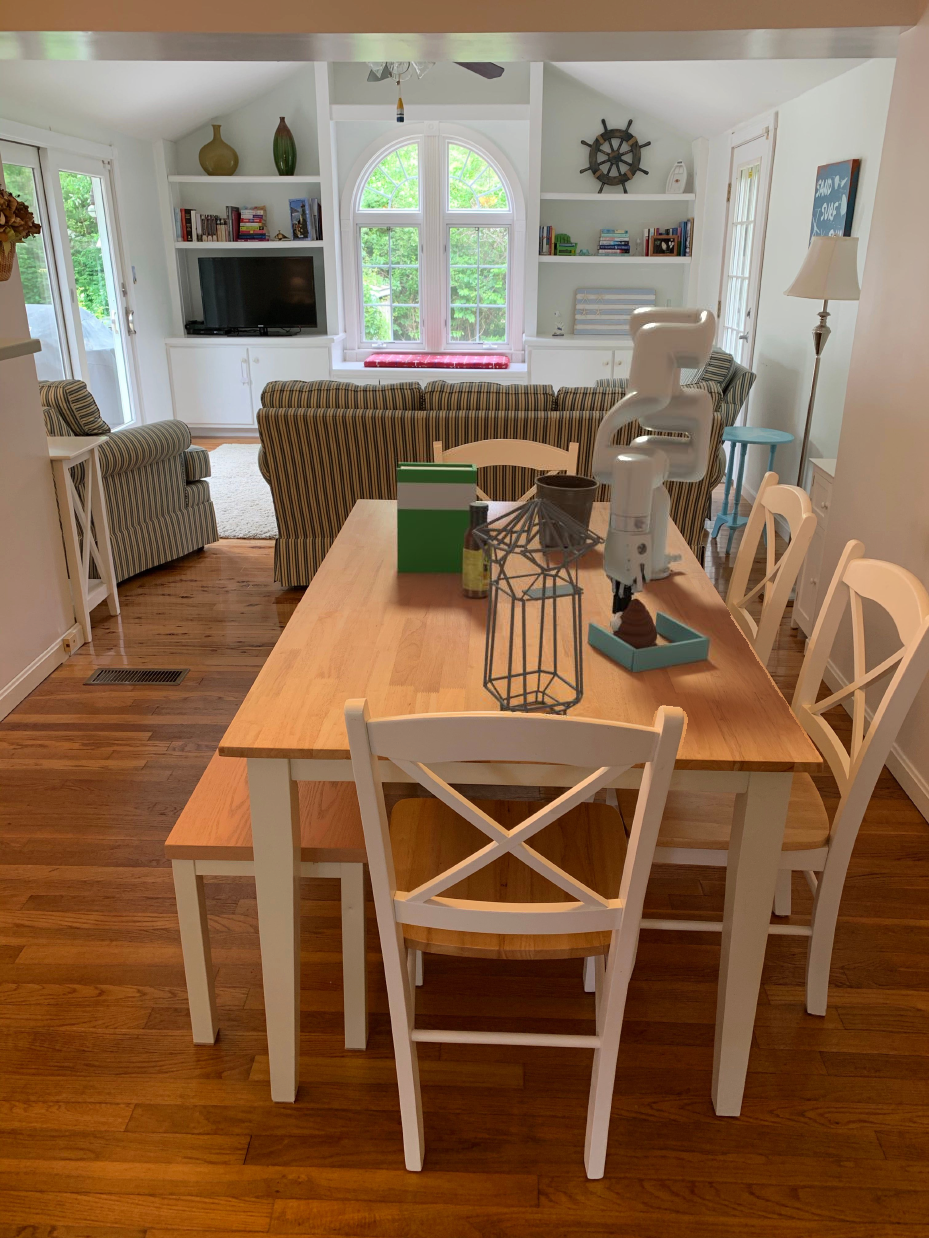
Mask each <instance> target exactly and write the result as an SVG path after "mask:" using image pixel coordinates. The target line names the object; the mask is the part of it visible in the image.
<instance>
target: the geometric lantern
mask: <svg viewBox="0 0 929 1238" xmlns="http://www.w3.org/2000/svg"><path fill="white" fill-rule="evenodd" d="M545 512H546V513H547V514H548V515H549V516H550V517H551V518H552V519H553V520H554V521H550V519H549V518H548V516H547V514H546V513H545ZM560 512H561V513H560ZM516 513H517V514H516ZM541 513H542V515H543V517H544V519H545V520H543V521H542V518H541ZM513 514H515V515H514V517H512V518H511V519H510V520H508V522H507V523H506V524H504V526H503V527H502V528H495V527H494V528H493V527H489V526H490V525H493V524H495V523H497V522H499V521H502V520H503V519H505V518H508V517H510V516H512V515H513ZM563 514H564V515H565V516H564V515H563ZM566 516H567V517H568V518H567V517H566ZM569 518H570V519H571V520H573V521H574V522H576V523H577V524H579V525H580V526H582V527H583V528H585V529H586V530H588V532H587V531H585V530H584V529H583V528H581V527H580V526H578V525H577V524H576V523H574V522H573V521H571V520H570V519H569ZM523 519H524V520H523ZM536 519H537V522H536ZM522 520H523V521H522ZM521 521H522V523H521V525H520V527H519V529H516V530H514V529H515V528H516V527H517V526H518V525H519V523H520V522H521ZM551 522H553V523H557V524H558V526H559V529H560V531H561V533H562V535H563V537H564V540H565V542H566V544H567V546H568V547H566V548H565V547H563V545H562V543H561V541H560V539H559V537H558V536H557V534H556V532H555V530H554V528H553V526H552V524H551ZM547 524H548V526H549V528H550V530H551V532H552V534H553V536H554V538H555V540H556V542H557V544H558V545H559V547H558V548H553V547H546V545H545V540H544V533H543V528H544V527H545V526H546V525H547ZM487 526H488V528H485V527H487ZM537 526H538V528H537V529H536V530H535V532H534V533H533V534H532V532H533V530H534V528H535V527H537ZM563 528H564V529H565V530H566V531H568V532H569V533H570V534H572V535H573V537H575V538H576V540H575V545H574V547H572V546H571V544H570V542H569V540H568V538H567V536H566V533H565V531H564V529H563ZM576 530H577V531H578V532H580V533H581V534H583V535H581V534H579V533H578V532H577V531H576ZM477 531H478V532H477ZM487 532H490V534H489V533H487ZM491 532H493V533H495V534H494V535H493V534H491ZM471 533H472V534H473V536H474V538H475V539H476V541H477V543H478V544H479V546H480V547H481V549H482V551H483V552H484V554H485V556H486V557H487V559H488V560H489V561H490V583H489V595H488V596H487V597H488V599H487V617H486V618H487V619H486V634H485V635H486V636H485V646H484V647H485V650H484V665H483V683H482V687H483V688H484V690H486V692H488V693H489V694H490V695H491V696H492V697H493V698H494V699H495V700H496V701H497V702H498V703H499V712H500V711H503V712H504V711H505V710H506V711H509V712H511V713H513V712H524V713H529V714H530V712H532V711H538V710H543V709H550V710H552V711H548V712H545V713H546V714H549V715H553V714H557V715H559V716H560V715H566V716H567V714H568V712H567V711H568V710H571V708H574V707H575V706H576V705H578V704H580V703H581V701H582V699H583V697H584V673H583V672H584V670H583V669H584V668H583V660H584V659H583V617H582V615H583V614H582V612H583V611H582V610H583V609H582V607H583V606H582V594H581V591H583V592H584V588H583V587H582V586H579V583H578V582H579V578H578V577H579V576H578V573H579V572H578V569H579V568H578V562H579V560H578V559H579V558H581V557H585V554H586V553H588V552H590V551H591V550H593V549H594V548H595V547H597V546H598V545H599V544H600V545H603V544H605V541H606V538H603V537H602V536H600V535H598V534H597V533H596V532H594V531H593V530H591V529H590V528H589V529H588V528H587V527H585V526H584V525H582V524H581V523H579V522H578V521H576V520H575V519H573V518H572V517H570V516H569V515H567V514H566V513H564V512H563V511H562V510H560V509H559V508H557V507H556V506H554V505H553V504H551V503H550V502H548V501H547V500H545V499H544V501H542V500H541V499H539V500H538V497H537V498H534V499H531V500H528V501H526V502H524V503H523V504H521V505H519V506H517V507H516V508H514V509H512V510H510V511H508V512H505V513H504V514H501V515H500V516H498V517H495V518H493V519H491V520H489V521H487V523H485V524H483V525H481V526H479V527H477V528H476V529H475V530H473V531H472V532H471ZM480 533H481V534H480ZM503 533H504V534H503ZM539 533H540V538H541V543H540V544H541V548H532V549H531V548H528V546H529V545H530V544H531V542H532V541H533V540H534V539H535V538H536V537H538V536H539ZM482 534H483V535H482ZM502 534H503V536H501V535H502ZM513 534H514V535H515V537H514V539H513ZM523 534H526V536H525V543H524V544H519V542H520V539H521V537H522V535H523ZM531 534H532V535H531ZM484 535H485V536H484ZM478 536H479V537H480V538H482V539H484V540H486V541H487V547H488V552H487V550H486V549H485V547H484V546H483V544H482V542H481V541H480V539H479V537H478ZM486 536H487V537H486ZM499 536H501V538H499ZM508 536H509V543H508V542H506V541H505V540H506V539H507V538H508ZM488 537H489V538H491V539H490V540H489V538H488ZM578 539H579V540H582V541H584V544H583V545H579V546H577V543H578ZM587 540H589V541H591V542H587ZM494 541H495V542H497V543H495V542H494ZM490 545H491V546H492V547H493V548H492V550H493V554H494V555H493V556H494V558H492V559H491V554H490ZM501 545H503V546H505V547H503V546H501ZM516 549H520V551H519V552H518V551H515V550H516ZM497 550H498V551H501V552H504V554H503V555H502V556H500V558H498V553H497ZM578 550H580V551H579V552H578ZM549 552H561V553H562V554H563V560H562V562H561V564H560V565H555V566H552V567H551V566H550V561H549V559H550V558H549V554H548V553H549ZM537 553H542V556H543V557H545V563H546V564H545V565H546V567H544V566H543V565H542V564H541V563H539V562H538V561H537V559H536V558H535V557H534V555H533V554H537ZM511 554H516V555H520V556H522V557H523V558H524V559H526V560H528V561H529V562H530V563H531V564H533V565H534V566H535V567H537V568H538V569H539V570H540V572H536V573H535V572H533V573H527V574H519V575H518V574H517V575H512V576H508V575H507V573H506V571H505V566H506V562H507V561H508V557H509V556H510V555H511ZM572 554H573V555H574V556H573V557H571V558H570V556H571V555H572ZM529 555H530V556H529ZM569 558H570V559H569ZM573 562H575V582H574V579H573V576H572V573H571V572H570V568H569V565H571V564H572V563H573ZM493 564H495V565H498V567H499V571H498V573H497V577H496V578H495V579H493ZM563 569H565V573H566V575H567V577H568V579H566V578H565V577H562V576H561V575H559V573H560V572H561V571H562V570H563ZM553 571H556V572H555V573H552V572H553ZM550 572H551V573H550ZM502 576H503V577H502ZM533 576H535V579H534V580H533V581H532V582H531V584H530V585H529V586H528V588H527V589H525V590H526V591H525V593H523V594H522V595H521V596H520V597H518V596H517V595H516V593H515V590H514V589H513V586H512V584H511V582H510V580H513V579H520V578H526V577H533ZM541 576H542V587H541V588H542V597H536V598H531V597H530V598H525V596H527V592H528V591H529V590H530V589H532V587H533V586H534V585H535V583H536V582H537V581H538V580H539V578H540V577H541ZM547 577H549V578H552V586H553V595H552V596H545V592H546V587H547ZM557 578H558V579H560V580H562V581H563V582H565V583H566V584H571V586H572V588H573V592H572V593H567V594H560V595H556V586H557ZM500 581H505V583H506V586H507V588H508V589H509V592H508V591H506V589H504V588H502V587H501V586H500ZM493 587H494V600H493ZM499 591H501V592H502V593H504V594H505V595H507V596H508V597H509V598H511V600H510V601H511V605H510V606H511V607H510V625H509V642H508V643H509V644H508V659H507V660H508V663H507V665H508V666H507V674H506V675H501V676H497V677H492V672H493V664H494V663H493V662H494V653H495V652H494V650H495V641H496V640H495V638H496V627H497V626H496V625H497V613H498V598H499ZM569 596H571V602H572V603H571V608H572V633H573V636H572V637H573V653H574V655H573V656H574V677H575V680H574V681H575V685H574V684H572V683H571V682H570V681H568V680H567V679H566V678H565V677H563V676H561V675H560V674H559V673H558V644H557V643H558V642H557V641H558V637H557V635H558V633H557V632H558V629H557V627H558V625H557V622H558V621H557V598H564V597H569ZM576 596H577V600H576ZM546 599H547V600H548V599H552V629H553V630H552V633H553V634H552V637H553V638H552V639H553V641H552V642H553V643H552V644H553V645H552V646H553V671H551V670H545V669H542V658H543V643H544V642H543V640H544V625H545V623H544V622H545V607H546ZM538 600H541V604H540V605H541V608H540V609H541V611H540V623H539V624H540V626H539V627H540V629H539V643H538V661H537V669H534V670H530V671H527V637H526V636H527V632H526V631H527V630H526V629H527V628H526V627H527V624H526V619H527V618H526V615H527V614H526V611H527V610H526V602H532V601H538ZM492 601H493V610H492ZM516 601H517V602H521V640H522V641H521V642H522V646H521V648H522V649H521V650H522V672H519V673H518V672H517V673H512V672H513V671H512V670H513V651H514V649H513V648H514V630H515V628H514V627H515V609H516V604H515V603H516ZM576 601H577V602H576ZM577 614H578V615H577ZM491 618H492V619H491ZM577 618H578V619H577ZM491 620H492V624H491ZM577 620H578V621H577ZM577 622H578V623H577ZM577 625H578V626H577ZM490 634H491V635H490ZM490 636H491V637H490ZM489 651H490V652H489ZM535 674H538V675H537V687H536V688H537V689H536V690H531V691H527V690H528V689H527V686H528V685H527V676H529V675H535ZM541 674H546V675H551V676H552V677H551V678H550V680H549V681H548V682H547V684H546V686H545V687H544V689H543V690H540V687H541V686H540V685H541ZM519 677H522V693H519V694H516V695H511V692H512V691H511V689H512V678H519ZM555 678H557V679H559V680H560V681H561V682H563V683H564V684H566V685H567V686H568V687H570V688H571V689H572V690H574V691H575V697H574V698H573V699H572V700H568V701H560V700H558V699H556V698H555V697H554V696H552V695H550V694H548V692H546V691H547V690H548V688H549V687H550V685H551V683H552V682H553V680H554V679H555ZM501 680H507V681H506V682H507V684H506V697H504V698H503V697H502V695H501V693H500V692H499V690H498V688H497V687H496V686H495V684H494V683H493V682H497V681H501ZM489 684H490V685H491V686H492V688H493V690H494V691H495V692H494V691H493V690H492V689H491V688H490V687H489V686H488V685H489ZM531 694H535V698H534V699H535V700H531V701H528V695H531ZM539 694H541V700H538V699H539V698H538V697H539ZM545 696H546V697H548V698H549V699H551V700H552V701H553V703H548V702H547V701H545ZM520 697H523V703H522V702H521V703H519V704H514V705H511V700H512V699H515V698H520ZM505 701H506V702H505ZM554 702H555V703H554ZM537 703H538V704H541V705H537V706H536V705H535V706H532V707H531V706H530V707H528V705H533V704H537ZM556 707H563V708H562V709H556ZM562 713H563V714H562Z"/></svg>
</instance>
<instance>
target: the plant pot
mask: <svg viewBox="0 0 929 1238" xmlns="http://www.w3.org/2000/svg"><path fill="white" fill-rule="evenodd" d="M534 483H535V484H536V485H535V488H536V497H537V499H538V500H539V499H541V500H542V501H544V499H545V500H547V501H548V502H550V503H551V504H553V505H554V506H556V507H557V508H559V509H560V510H562V511H563V512H564V513H566V514H567V515H569V516H570V517H572V518H573V519H575V520H576V521H578V522H579V523H581V524H582V525H584V526H585V527H587V528H588V529H590V524H591V523H590V522H591V517H592V511H593V508H594V507H593V506H594V501H595V500H596V496H597V491H598V488H599V487H600V482H598V481H597V480H596V479H595V478H590V477H586V476H582V475H574V474H546V475H542V476H541V475H540V476H537V477H536V478H534ZM545 513H546V512H545ZM560 513H561V512H560ZM546 514H547V513H546ZM563 515H564V514H563ZM547 516H548V518H549V519H550V521H554V520H553V519H552V518H551V517H550V516H549V515H548V514H547ZM564 516H565V515H564ZM566 517H567V516H566ZM541 518H542V521H543V520H545V519H544V517H543V515H542V513H541ZM567 518H568V517H567ZM569 519H570V518H569ZM570 520H571V519H570ZM571 521H573V520H571ZM573 522H574V521H573ZM574 523H576V522H574ZM551 524H552V526H553V528H554V530H555V532H556V534H557V536H558V537H559V539H560V541H561V543H562V545H563V547H564V548H568V546H567V544H566V542H565V540H564V537H563V535H562V533H561V531H560V529H559V526H558V524H557V523H553V522H551ZM576 524H577V523H576ZM577 525H578V526H580V525H579V524H577ZM580 527H581V528H583V527H582V526H580ZM563 529H564V528H563ZM583 529H584V530H585V531H587V532H588V533H589V531H588V530H586V529H585V528H583ZM564 531H565V533H566V536H567V538H568V540H569V542H570V544H571V546H572V547H574V545H575V540H576V538H575V537H573V535H572V534H570V533H569V532H568V531H566V530H565V529H564ZM576 531H577V530H576ZM577 532H578V531H577ZM543 533H544V540H545V547H548V548H558V547H559V545H558V544H557V542H556V540H555V538H554V536H553V534H552V532H551V530H550V528H549V526H548V524H547V525H546V526H545V527H544V528H543ZM578 533H579V534H581V533H580V532H578ZM581 535H583V534H581ZM538 541H539V543H540V544H541V538H540V533H539V534H538ZM583 544H584V541H582V540H579V539H578V543H577V546H579V545H583Z"/></svg>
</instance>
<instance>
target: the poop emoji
mask: <svg viewBox="0 0 929 1238" xmlns="http://www.w3.org/2000/svg"><path fill="white" fill-rule="evenodd" d="M609 627H610V629H611V630H612V632H613V633H612V634H613V635H614V636H616V637H618V638H619V639H621V640H622V641H624V642H625V643H627V644H629V645H630V646H632V647H633V648H635V649H642V648H648V647H653V646H654V645H655V643H656V641H657V640H658V633H657V631H656V627H655V622H654V619H653V617H652V615H651V613H650V611H649V610H648V609H647V607H646V605H645V604H644V603H643V602H642V601H641V600H640V599H639V598H632V600H631V602H630V603H629V605H628V608H627V609H626V610H625V611H624V612H618V613H617V614H616V615H615V614H614V617H613V618H612V619H611V620H610V626H609Z"/></svg>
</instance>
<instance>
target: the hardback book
mask: <svg viewBox="0 0 929 1238" xmlns="http://www.w3.org/2000/svg"><path fill="white" fill-rule="evenodd" d="M397 466H398V467H396V508H397V509H396V518H397V519H396V521H397V522H396V529H397V531H396V535H397V539H396V540H397V541H396V542H397V544H396V545H397V547H396V549H397V550H396V552H397V554H396V555H397V556H396V557H397V559H396V561H397V564H396V567H397V568H396V569H397V573H399V574H456V575H457V574H458V575H459V574H461V575H463V546H464V534H465V532H466V530H467V529H468V527H469V525H470V523H469V521H470V510H469V505H470V503H473V502H477V487H478V486H477V482H478V480H477V479H478V469H477V463H462V462H461V463H459V462H447V463H446V462H405V461H404V462H403V461H401V462H399V461H398V465H397Z"/></svg>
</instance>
